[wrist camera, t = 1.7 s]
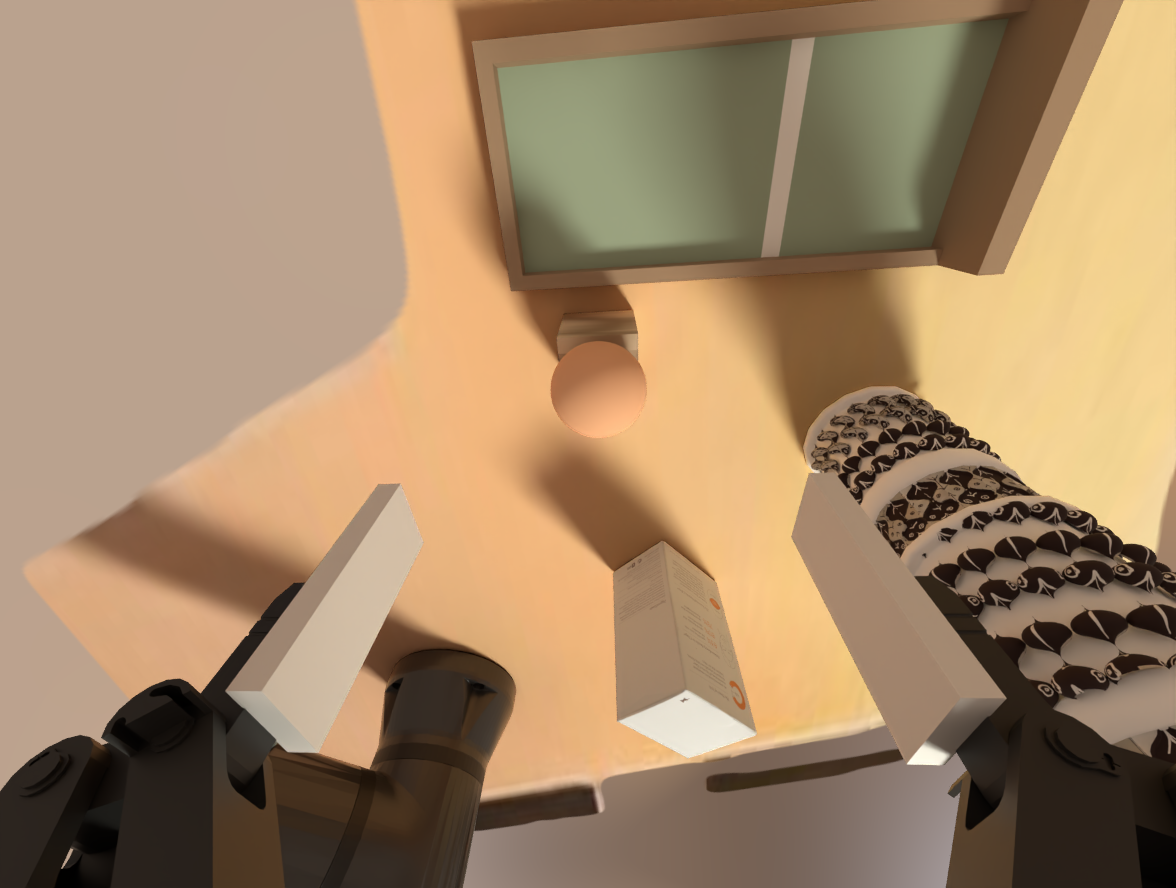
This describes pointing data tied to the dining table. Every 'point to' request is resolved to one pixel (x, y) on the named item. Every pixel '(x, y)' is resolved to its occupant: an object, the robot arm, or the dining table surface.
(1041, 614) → the decorative candle
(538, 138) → the tray
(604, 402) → the ball
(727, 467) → the dining table surface
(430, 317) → the dining table surface
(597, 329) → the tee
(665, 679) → the small box
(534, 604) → the dining table surface
